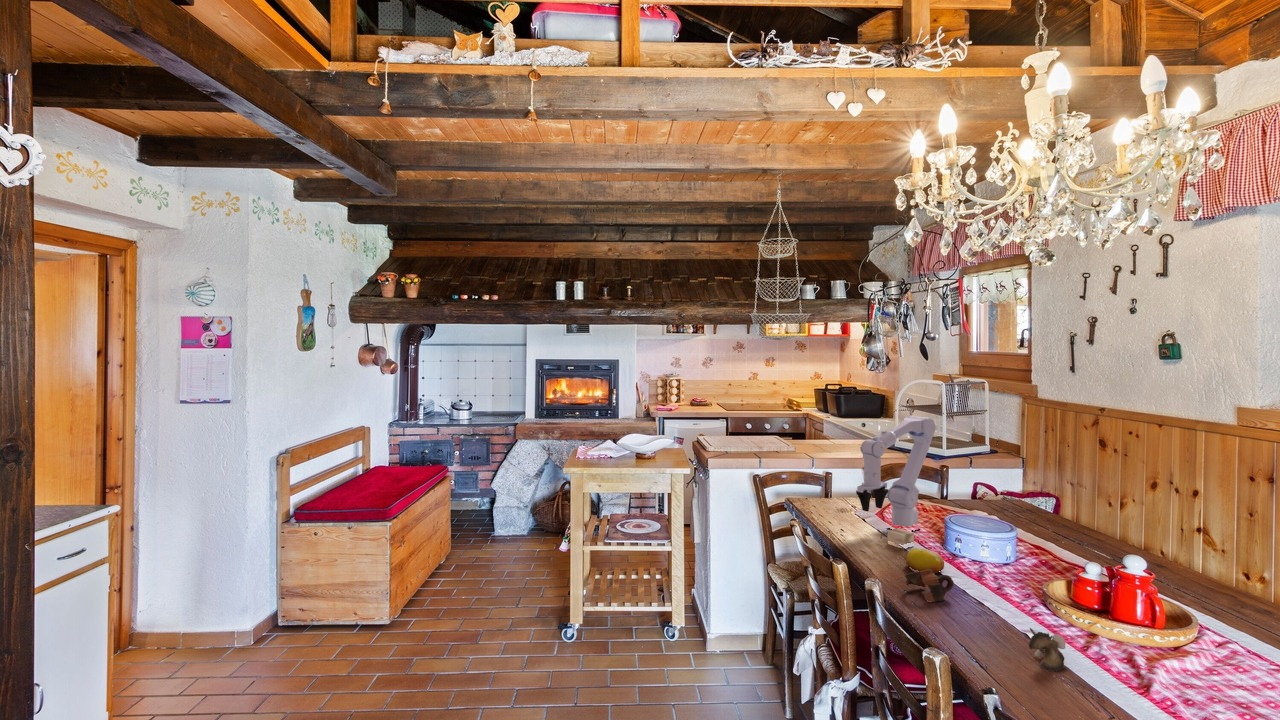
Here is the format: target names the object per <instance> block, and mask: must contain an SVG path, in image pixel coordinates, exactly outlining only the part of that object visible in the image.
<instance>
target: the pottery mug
mask: <svg viewBox="0 0 1280 720" xmlns="http://www.w3.org/2000/svg"><path fill="white" fill-rule="evenodd" d="M905 578H906V580H905V585H906V586H908V587H909V585H913V586H917V587H918V586H922V587H925V588H926V586H927V587H928V588H929V590H930V591H929V592H928V593H924V594H923V597H924V599H925V601H926V600H928V601H933V602H932V603H935V602H943V599H944V600H945V595H946V594H947V593H948V592H950V591H951V590H952V589H953V587H954V583H955V582H954V580H953V578H952V577H951V576H950V575H947V574H942V575H937V574H933V572H932V570H924V571H919V572H910V573H908V574H905ZM945 581H946V582H947V584H946V586H944V585H943V583H944V582H945Z"/></svg>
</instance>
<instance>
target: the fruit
mask: <svg viewBox="0 0 1280 720" xmlns="http://www.w3.org/2000/svg"><path fill="white" fill-rule="evenodd" d="M905 563H906V565H908V566H909V567H911V568H912V569H914V570H918V571H924V570H932V572H933V573H937V574H939V573H938V572H939V571H941V570H942V571H943V570H944V568H945V561H944V558H943V557H942V555H940V554H939V553H938V552H936V551H934V550H930V549H927V548H922V547H919V548H916V547H915V548H912V549H910V550H909V551H908V552H907V554H906V557H905ZM908 566H907V567H908ZM942 571H941V572H942Z"/></svg>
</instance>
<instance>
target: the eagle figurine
mask: <svg viewBox="0 0 1280 720" xmlns="http://www.w3.org/2000/svg"><path fill="white" fill-rule="evenodd" d="M1029 630H1030V632H1031V634H1032V636H1031V638H1030V640H1029V643H1028V649H1029V650H1036V651H1035V652H1034V655H1033V658H1036V657H1037V658H1039V657H1040V656H1042V655H1043V654H1044V656H1043V659H1042V660H1041V661H1040V662H1039V664H1038V666H1039V667H1041V669H1042V670H1044V671H1046V672H1055V671H1056V672H1058V671H1062V670H1063V669H1064V668H1065V665H1064V664H1065V657H1064V654H1063V653H1062V652H1061V651H1060V650H1066V644H1067V643H1066V640H1065V638H1064V637H1063V636H1062V635H1061V634H1059V633H1054V634H1053V635H1051V636H1050V634H1049V632H1047V633H1046V632H1042V631H1038V632H1035V631H1034V630H1033V628H1032V627H1030V628H1029Z"/></svg>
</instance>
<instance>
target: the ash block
mask: <svg viewBox="0 0 1280 720" xmlns="http://www.w3.org/2000/svg"><path fill="white" fill-rule="evenodd" d="M888 541H891V542H894V543H897V544H901V545H904V544H907V543H911V542H914V543H915V532H914V531H913V532H910V531H907V530H903V529H900V528H897V529H893V530H891V529H888V530H887V542H888Z"/></svg>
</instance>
